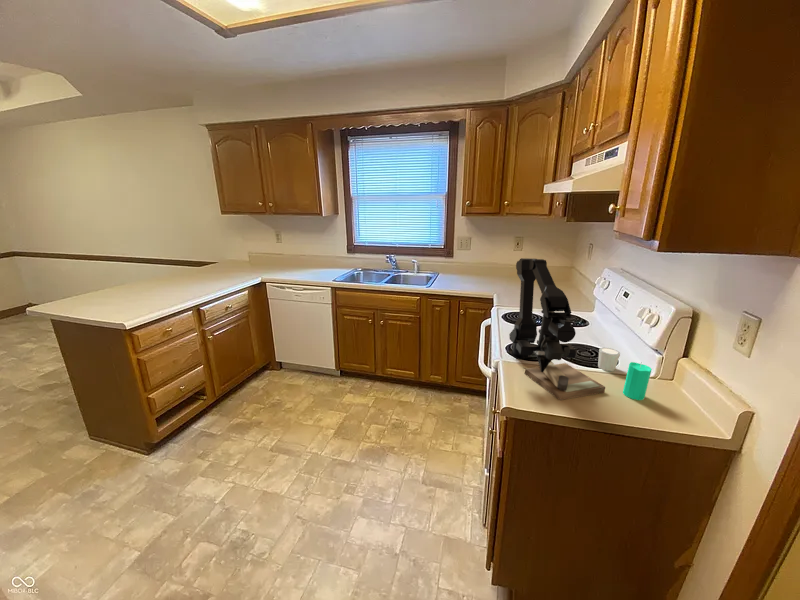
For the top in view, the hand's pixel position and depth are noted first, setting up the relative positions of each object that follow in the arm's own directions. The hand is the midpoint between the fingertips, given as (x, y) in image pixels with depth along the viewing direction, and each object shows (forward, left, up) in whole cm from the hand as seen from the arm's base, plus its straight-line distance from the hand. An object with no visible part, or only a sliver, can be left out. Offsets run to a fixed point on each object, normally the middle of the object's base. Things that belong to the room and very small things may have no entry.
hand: (541, 371), depth 121 cm
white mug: (-2, +32, -4) cm, 32 cm away
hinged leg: (+4, +2, -1) cm, 4 cm away
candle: (+16, +24, -4) cm, 29 cm away
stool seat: (+3, +7, -4) cm, 8 cm away
